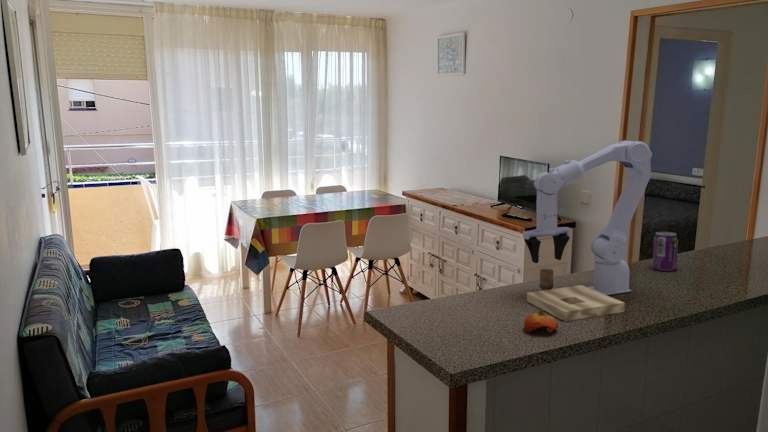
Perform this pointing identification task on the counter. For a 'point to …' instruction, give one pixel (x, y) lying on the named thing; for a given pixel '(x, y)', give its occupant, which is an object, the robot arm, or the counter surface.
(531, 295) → the board
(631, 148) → the robot arm
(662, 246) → the beverage can
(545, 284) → the peg
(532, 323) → the tomato
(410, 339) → the counter surface
